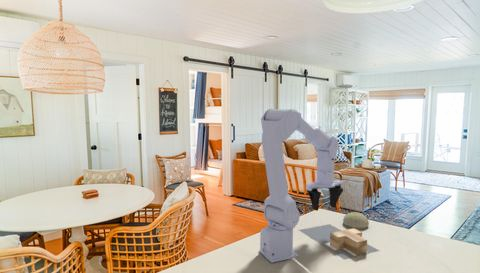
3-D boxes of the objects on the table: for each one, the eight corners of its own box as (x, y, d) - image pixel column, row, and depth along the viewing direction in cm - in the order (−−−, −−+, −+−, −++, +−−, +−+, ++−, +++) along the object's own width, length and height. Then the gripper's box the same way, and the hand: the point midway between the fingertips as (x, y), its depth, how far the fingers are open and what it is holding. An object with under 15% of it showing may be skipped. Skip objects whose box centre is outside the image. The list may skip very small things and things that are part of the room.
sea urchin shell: (337, 221, 113) (344, 203, 117) (343, 231, 118) (350, 214, 121) (361, 228, 107) (368, 209, 110) (367, 239, 111) (373, 220, 115)
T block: (349, 256, 89) (349, 244, 88) (329, 244, 97) (330, 233, 96) (373, 250, 93) (374, 238, 92) (353, 239, 101) (354, 228, 100)
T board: (344, 260, 88) (344, 259, 87) (298, 231, 109) (298, 229, 108) (379, 252, 93) (379, 250, 93) (329, 225, 114) (329, 224, 114)
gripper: (315, 174, 98) (314, 214, 99) (350, 170, 103) (348, 209, 105) (302, 170, 104) (301, 208, 105) (336, 167, 110) (334, 203, 111)
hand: (324, 208), depth 105 cm, fingers open, 7 cm apart
